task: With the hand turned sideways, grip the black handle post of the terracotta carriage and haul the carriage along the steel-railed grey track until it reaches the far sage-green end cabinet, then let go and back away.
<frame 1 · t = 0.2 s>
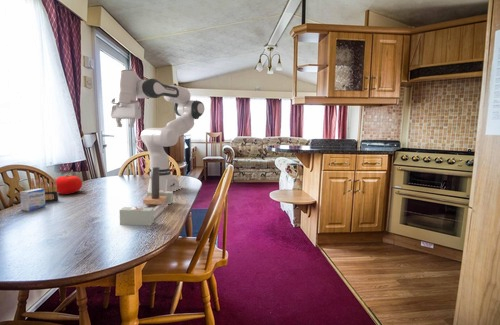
hand: (125, 127, 139), 39 cm above the table, tool pointing down, fingers open, 8 cm apart
tomato: (68, 193, 151), on the table
carriage: (155, 184, 128), point 11 cm above the table, slide at -7.5 cm
ammunition clip: (45, 202, 132), on the table
track: (150, 212, 122), on the table
medicine box: (33, 208, 121), on the table
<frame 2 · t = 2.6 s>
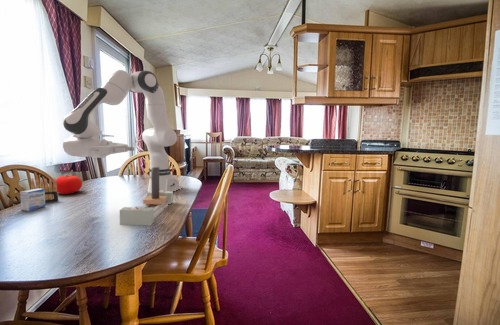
hand: (129, 149, 126), 28 cm above the table, tool horizontal, fingers open, 8 cm apart
nothing on the table moved.
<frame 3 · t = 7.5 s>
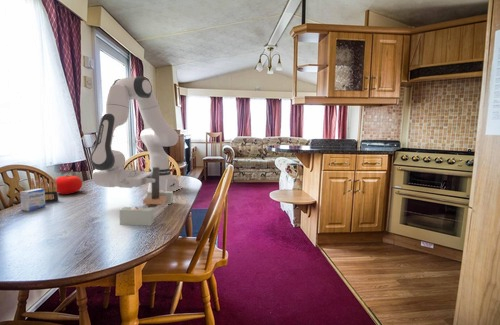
hand: (157, 179, 128), 14 cm above the table, tool horizontal, fingers closed on carriage, 4 cm apart
carriage: (155, 184, 128), point 11 cm above the table, slide at -7.5 cm, touching gripper
everything else where it was.
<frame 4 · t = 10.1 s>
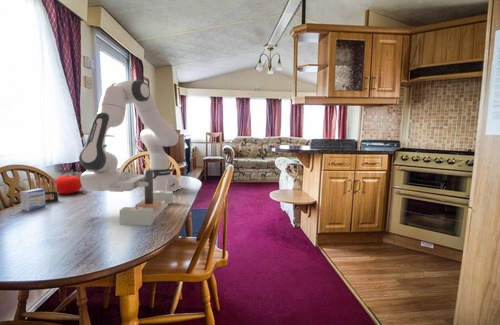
hand: (150, 183, 119), 14 cm above the table, tool horizontal, fingers closed on carriage, 4 cm apart
carriage: (148, 188, 119), point 11 cm above the table, slide at 1.5 cm, touching gripper
everything else where it was.
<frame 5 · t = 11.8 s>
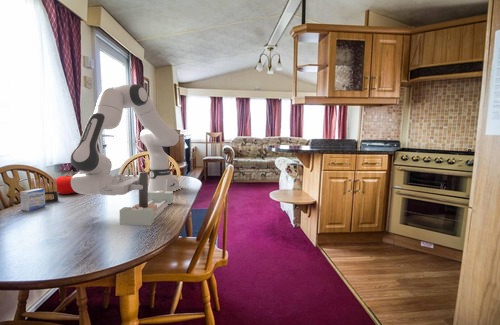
hand: (145, 185, 112), 14 cm above the table, tool horizontal, fingers closed on carriage, 4 cm apart
carriage: (143, 192, 113), point 11 cm above the table, slide at 8.0 cm, touching gripper
everything else where it was.
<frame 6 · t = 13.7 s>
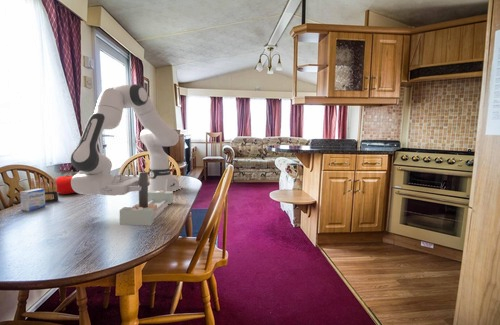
hand: (145, 186, 112), 14 cm above the table, tool horizontal, fingers open, 8 cm apart
carriage: (143, 192, 112), point 11 cm above the table, slide at 8.0 cm
everything else where it was.
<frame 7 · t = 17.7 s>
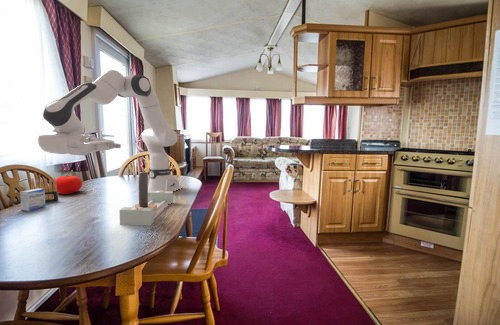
hand: (114, 146, 111), 30 cm above the table, tool horizontal, fingers open, 8 cm apart
nothing on the table moved.
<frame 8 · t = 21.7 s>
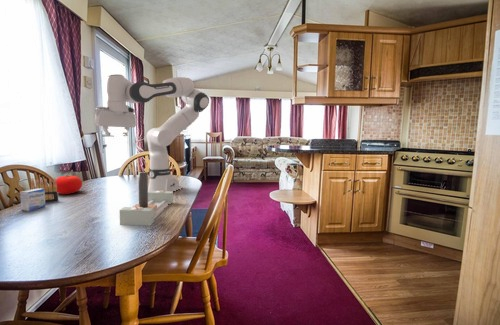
hand: (116, 136, 132), 34 cm above the table, tool pointing down, fingers open, 8 cm apart
nothing on the table moved.
at the end: carriage slide at 8.0 cm; the gripper is holding nothing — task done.
